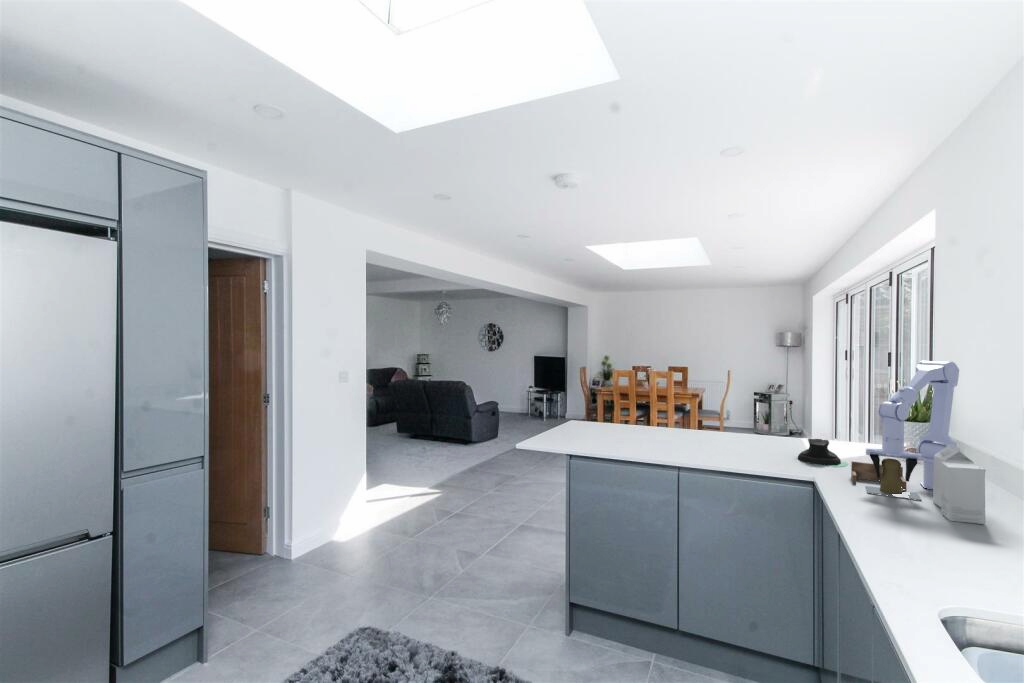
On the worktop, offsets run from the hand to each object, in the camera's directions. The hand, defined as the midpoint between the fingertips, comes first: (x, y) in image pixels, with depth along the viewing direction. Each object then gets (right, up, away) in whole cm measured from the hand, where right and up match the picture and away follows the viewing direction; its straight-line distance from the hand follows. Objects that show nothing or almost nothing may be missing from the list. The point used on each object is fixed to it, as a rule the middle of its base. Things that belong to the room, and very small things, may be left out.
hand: (892, 479), depth 165 cm
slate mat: (0, -5, 0) cm, 5 cm away
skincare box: (+2, -5, -24) cm, 24 cm away
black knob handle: (+4, -5, +45) cm, 46 cm away
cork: (0, -5, +1) cm, 5 cm away
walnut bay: (+3, -5, +11) cm, 13 cm away
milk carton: (+8, -5, -13) cm, 16 cm away
